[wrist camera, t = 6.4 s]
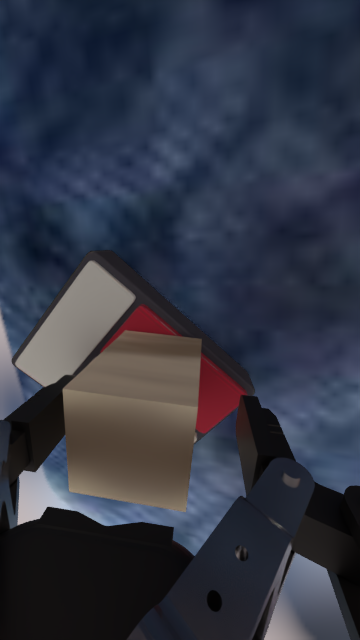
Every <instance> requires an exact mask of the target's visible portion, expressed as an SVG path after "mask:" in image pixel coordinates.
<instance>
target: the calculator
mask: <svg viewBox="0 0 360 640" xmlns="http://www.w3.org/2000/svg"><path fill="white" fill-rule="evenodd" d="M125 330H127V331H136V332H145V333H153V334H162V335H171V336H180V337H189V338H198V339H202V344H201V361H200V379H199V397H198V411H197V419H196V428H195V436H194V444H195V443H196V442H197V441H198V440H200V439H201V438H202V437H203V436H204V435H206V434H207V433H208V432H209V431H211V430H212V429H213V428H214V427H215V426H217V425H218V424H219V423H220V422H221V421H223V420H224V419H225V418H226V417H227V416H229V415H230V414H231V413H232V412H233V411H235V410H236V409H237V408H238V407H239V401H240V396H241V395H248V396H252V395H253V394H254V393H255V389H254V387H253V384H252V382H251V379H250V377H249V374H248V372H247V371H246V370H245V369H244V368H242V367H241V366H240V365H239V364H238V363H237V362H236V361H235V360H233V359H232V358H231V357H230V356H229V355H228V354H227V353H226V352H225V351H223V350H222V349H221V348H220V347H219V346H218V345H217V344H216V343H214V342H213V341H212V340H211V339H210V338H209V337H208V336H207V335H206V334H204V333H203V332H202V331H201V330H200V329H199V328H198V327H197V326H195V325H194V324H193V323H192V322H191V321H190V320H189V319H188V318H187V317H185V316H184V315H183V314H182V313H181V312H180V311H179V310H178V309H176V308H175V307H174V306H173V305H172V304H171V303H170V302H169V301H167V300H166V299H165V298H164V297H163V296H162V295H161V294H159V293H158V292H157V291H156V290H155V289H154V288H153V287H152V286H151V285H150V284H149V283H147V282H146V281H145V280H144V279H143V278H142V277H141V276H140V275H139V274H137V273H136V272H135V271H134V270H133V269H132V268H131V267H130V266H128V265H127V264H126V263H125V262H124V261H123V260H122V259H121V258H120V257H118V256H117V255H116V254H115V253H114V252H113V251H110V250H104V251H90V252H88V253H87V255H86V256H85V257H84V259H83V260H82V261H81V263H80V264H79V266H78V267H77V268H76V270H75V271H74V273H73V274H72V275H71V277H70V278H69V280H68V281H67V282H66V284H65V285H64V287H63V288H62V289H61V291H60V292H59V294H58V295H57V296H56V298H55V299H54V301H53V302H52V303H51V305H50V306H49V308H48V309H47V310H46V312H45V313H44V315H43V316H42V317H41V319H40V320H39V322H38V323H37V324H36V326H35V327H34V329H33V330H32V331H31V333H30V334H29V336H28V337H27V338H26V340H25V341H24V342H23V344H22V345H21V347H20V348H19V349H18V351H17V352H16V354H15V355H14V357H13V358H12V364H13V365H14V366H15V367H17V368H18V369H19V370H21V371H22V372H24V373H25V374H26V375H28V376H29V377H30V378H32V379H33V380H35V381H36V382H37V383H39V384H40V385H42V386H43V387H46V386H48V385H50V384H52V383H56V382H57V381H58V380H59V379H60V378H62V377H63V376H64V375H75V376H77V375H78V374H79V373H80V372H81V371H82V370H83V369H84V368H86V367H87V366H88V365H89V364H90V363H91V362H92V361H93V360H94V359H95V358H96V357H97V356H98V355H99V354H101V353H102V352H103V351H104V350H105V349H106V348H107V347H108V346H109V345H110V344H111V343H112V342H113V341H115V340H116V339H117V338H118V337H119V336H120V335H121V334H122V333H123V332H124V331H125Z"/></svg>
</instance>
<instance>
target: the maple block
mask: <svg viewBox="0 0 360 640" xmlns="http://www.w3.org/2000/svg"><path fill="white" fill-rule="evenodd" d="M201 344H202V339H198V338H189V337H180V336H171V335H162V334H153V333H145V332H136V331H127V330H125V331H124V332H123V333H122V334H121V335H120V336H119V337H118V338H117V339H116V340H115V341H113V342H112V343H111V344H110V345H109V346H108V347H107V348H106V349H105V350H104V351H103V352H102V353H101V354H99V355H98V356H97V357H96V358H95V359H94V360H93V361H92V362H91V363H90V364H89V365H88V366H87V367H86V368H84V369H83V370H82V371H81V372H80V373H79V374H78V375H77V376H76V377H75V378H74V379H73V380H72V381H70V382H69V383H68V384H67V385H66V386H65V387H64V388H63V404H64V419H65V434H66V449H67V464H68V479H69V492H74V493H80V494H86V495H91V496H97V497H103V498H109V499H114V500H120V501H126V502H131V503H137V504H143V505H149V506H154V507H160V508H166V509H171V510H177V511H183V512H186V505H187V496H188V488H189V479H190V471H191V462H192V453H193V445H194V436H195V428H196V419H197V411H198V397H199V379H200V361H201Z"/></svg>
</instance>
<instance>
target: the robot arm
mask: <svg viewBox="0 0 360 640" xmlns="http://www.w3.org/2000/svg"><path fill="white" fill-rule="evenodd" d="M75 377H76V376H75V375H64V376H63V377H62V378H60V379H59V380H58V381H57V382H56V383H52V384H50V385H48V386H46V387H44V388H42V389H41V390H40V391H38V392H37V393H36V394H35V395H34V396H32V397H31V398H30V399H28V401H27V402H25V403H24V404H22V405H21V406H20V407H19V408H17V409H16V410H15V411H14V412H12V413H11V414H10V415H9V416H8V417H6V418H5V419H4V420H0V640H264V638H265V635H266V632H267V629H268V627H269V624H270V620H271V617H272V614H273V611H274V609H275V606H276V603H277V600H278V598H279V595H280V593H281V590H282V587H283V585H284V582H285V580H286V577H287V574H288V572H289V569H290V567H291V564H292V561H293V558H294V556H295V554H296V553H298V554H300V555H301V556H303V557H305V558H307V559H309V560H311V561H313V562H315V563H317V564H319V565H321V566H322V567H325V568H326V569H327V571H328V574H329V577H330V580H331V583H332V586H333V589H334V592H335V595H336V598H337V600H338V604H339V607H340V610H341V613H342V615H343V618H344V621H345V624H346V627H347V630H348V633H349V636H350V639H351V640H360V486H349V487H348V488H346V490H345V493H344V494H341V493H339V492H336V491H334V490H331V489H329V488H326V487H324V486H322V485H320V484H318V483H316V482H314V480H313V477H312V476H311V474H310V473H309V472H308V470H307V469H306V468H305V467H303V466H302V465H301V464H299V463H298V462H296V460H295V458H294V456H293V454H292V451H291V449H290V447H289V444H288V442H287V440H286V438H285V435H284V434H283V431H282V428H281V427H280V424H279V422H278V419H277V417H276V416H275V415H274V414H273V413H272V412H271V411H270V410H269V409H266V408H261V405H260V403H259V400H258V397H257V396H248V395H241V396H240V401H239V407H238V414H237V421H236V437H237V443H238V449H239V455H240V461H241V467H242V473H243V479H244V484H245V490H246V496H247V497H246V498H244V497H243V496H240V497H238V498H237V500H236V501H235V502H234V503H233V505H232V506H231V508H230V509H229V510H228V512H227V513H226V514H225V516H224V517H223V519H222V520H221V521H220V523H219V524H218V525H217V527H216V528H215V529H214V531H213V532H212V534H211V535H210V536H209V538H208V539H207V540H206V542H205V543H204V545H203V546H202V547H201V549H200V550H199V551H198V553H197V554H196V555H195V556H194V555H193V554H192V553H190V552H189V551H188V550H187V549H186V548H185V547H183V546H182V545H180V544H179V543H177V542H175V541H173V530H174V527H169V526H163V525H157V524H151V523H144V522H138V523H130V524H122V525H114V526H104V525H102V524H100V523H98V522H96V521H94V520H92V519H91V518H89V517H87V516H85V515H83V514H81V513H79V512H78V511H71V510H64V509H59V508H52V507H47V508H46V510H45V512H44V513H43V515H42V516H41V518H40V519H37V520H33V521H29V522H26V523H23V524H20V525H18V526H17V522H18V521H17V520H18V500H19V475H20V474H21V472H23V470H25V471H32V472H36V471H37V470H38V468H39V467H40V466H41V464H42V463H43V462H44V461H45V459H46V458H47V457H48V456H49V454H50V453H51V452H52V450H53V449H54V448H55V447H56V445H57V444H58V443H59V442H60V440H61V439H62V438H63V436H64V435H65V419H64V404H63V388H64V387H65V386H66V385H67V384H68V383H69V382H70V381H72V380H73V379H74V378H75Z"/></svg>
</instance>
